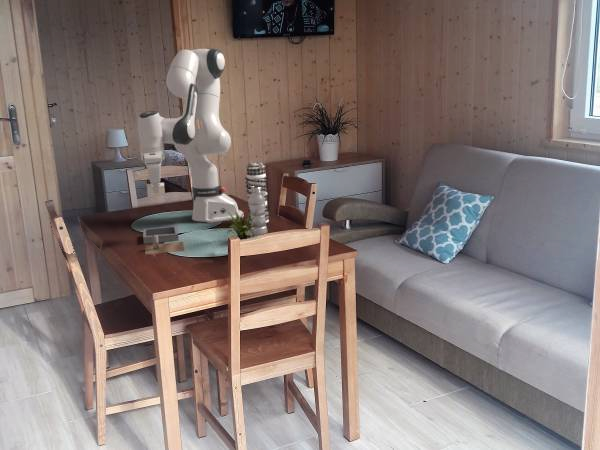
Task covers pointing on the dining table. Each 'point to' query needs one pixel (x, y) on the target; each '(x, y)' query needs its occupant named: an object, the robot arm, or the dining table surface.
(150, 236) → the charcoal tray
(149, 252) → the walnut board
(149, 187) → the cream collar
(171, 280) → the dining table surface
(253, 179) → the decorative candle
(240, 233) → the house plant
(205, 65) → the robot arm
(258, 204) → the plastic bottle
